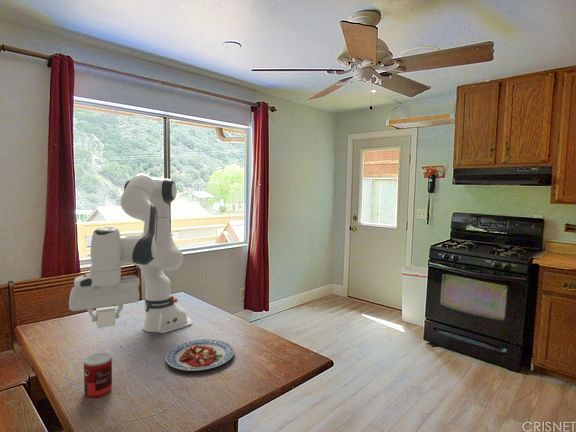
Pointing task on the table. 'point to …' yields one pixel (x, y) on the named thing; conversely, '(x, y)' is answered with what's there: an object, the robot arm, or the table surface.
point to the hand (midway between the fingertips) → (105, 319)
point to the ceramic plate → (199, 354)
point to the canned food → (97, 375)
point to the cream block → (105, 317)
